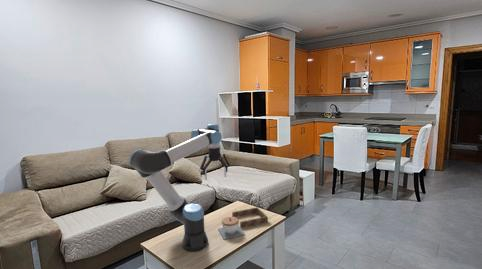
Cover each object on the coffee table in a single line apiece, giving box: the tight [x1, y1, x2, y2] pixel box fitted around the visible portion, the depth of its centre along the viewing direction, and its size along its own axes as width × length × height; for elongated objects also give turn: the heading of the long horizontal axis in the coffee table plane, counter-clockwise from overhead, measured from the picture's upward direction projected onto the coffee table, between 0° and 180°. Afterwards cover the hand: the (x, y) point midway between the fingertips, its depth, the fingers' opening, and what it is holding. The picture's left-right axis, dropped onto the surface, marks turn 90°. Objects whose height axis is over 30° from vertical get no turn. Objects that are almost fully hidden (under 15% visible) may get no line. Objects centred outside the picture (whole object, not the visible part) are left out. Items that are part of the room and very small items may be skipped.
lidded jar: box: [221, 216, 240, 234], centre depth 172 cm, size 11×11×9 cm
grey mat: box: [217, 225, 246, 241], centre depth 173 cm, size 14×14×1 cm
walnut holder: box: [231, 207, 269, 229], centre depth 189 cm, size 20×17×4 cm
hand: (215, 178), depth 183 cm, fingers open, 13 cm apart
